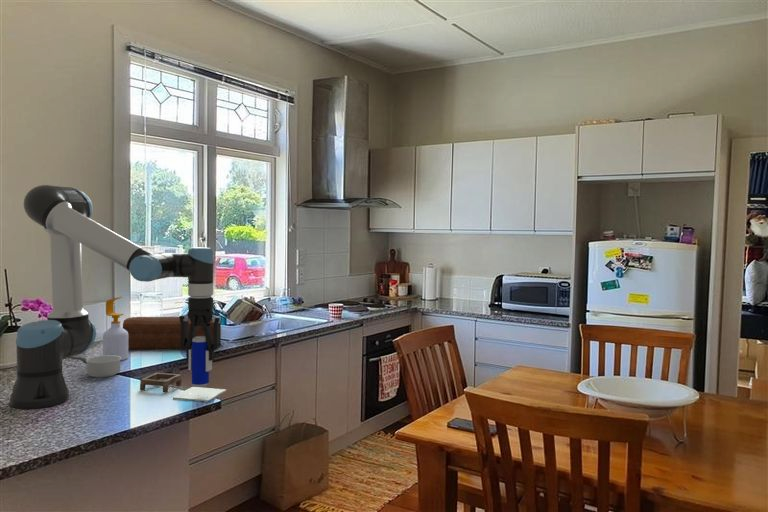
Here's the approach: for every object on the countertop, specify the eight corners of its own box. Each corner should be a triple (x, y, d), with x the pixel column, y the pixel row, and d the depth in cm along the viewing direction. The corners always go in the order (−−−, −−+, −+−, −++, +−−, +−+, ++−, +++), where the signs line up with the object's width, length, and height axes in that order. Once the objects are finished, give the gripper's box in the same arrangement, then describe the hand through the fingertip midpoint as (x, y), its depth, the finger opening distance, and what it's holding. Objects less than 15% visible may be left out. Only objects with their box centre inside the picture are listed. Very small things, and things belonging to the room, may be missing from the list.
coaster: (208, 402, 173) (208, 400, 173) (172, 399, 176) (172, 397, 176) (226, 391, 185) (226, 389, 185) (192, 388, 187) (192, 386, 187)
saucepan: (80, 367, 211) (80, 352, 210) (128, 371, 207) (128, 356, 206) (56, 375, 199) (56, 359, 199) (106, 379, 195) (107, 363, 195)
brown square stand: (166, 392, 182) (166, 381, 182) (139, 390, 183) (140, 379, 183) (181, 385, 191) (181, 374, 191) (156, 383, 193) (156, 372, 192)
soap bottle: (118, 362, 219) (118, 298, 218) (97, 360, 221) (97, 297, 220) (133, 357, 228) (133, 296, 227) (113, 355, 230) (113, 295, 229)
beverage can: (202, 381, 184) (203, 335, 183) (212, 384, 181) (212, 337, 180) (188, 384, 180) (188, 337, 179) (197, 387, 177) (197, 339, 176)
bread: (216, 350, 246) (217, 319, 245) (121, 351, 240) (121, 319, 239) (221, 342, 261) (221, 313, 260) (131, 343, 255) (131, 313, 254)
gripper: (233, 296, 181) (232, 368, 182) (180, 294, 184) (180, 365, 185) (222, 299, 173) (221, 374, 175) (167, 296, 177) (167, 370, 178)
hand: (200, 369), depth 180 cm, fingers closed on beverage can, 5 cm apart
